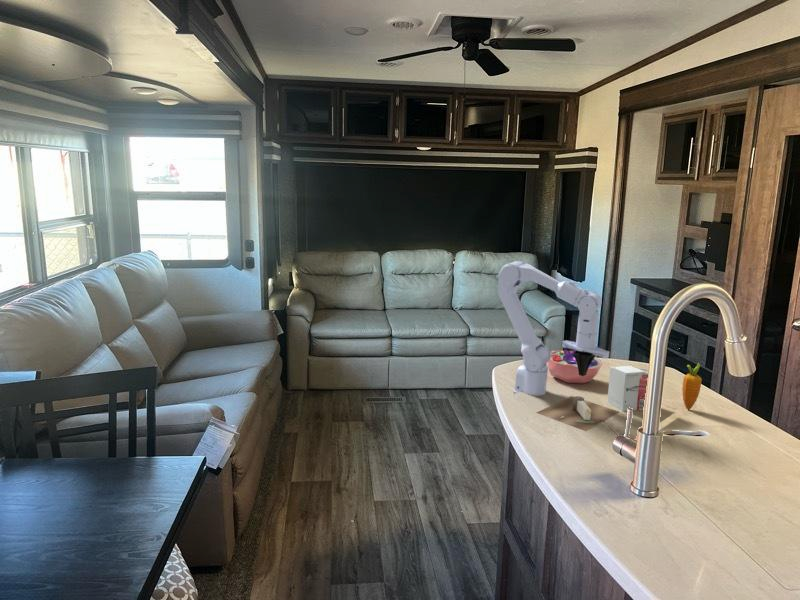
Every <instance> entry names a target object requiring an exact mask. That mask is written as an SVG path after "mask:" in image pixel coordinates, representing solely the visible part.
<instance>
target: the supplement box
mask: <svg viewBox="0 0 800 600" xmlns="http://www.w3.org/2000/svg"><path fill="white" fill-rule="evenodd" d="M640 369H641V368H636V367H634V366H631V365H621V366H610V368H609V380H608V391H607V400H606V402H607V403H608V404H609V405H611V406H612V407H614V408H616V409H618V410H619V411H621V412H628V411H627V408H629V407H630V408H633V410H632V411H638V410H637V400H638V390H639V382H640V378H641V377H642V374H645V371H643V370H640Z"/></svg>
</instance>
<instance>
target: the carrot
mask: <svg viewBox="0 0 800 600" xmlns="http://www.w3.org/2000/svg"><path fill="white" fill-rule="evenodd" d="M700 366H701V364H700V363H697V364H696V366H695V368H692V366H691V365H690V364H687V365H686V367H687V369H688V372H689V373H687V374H686V375H684V376H683V382H682V400H683V403H684V406H685V409H688V411H689V410H691V409H692V408H693V406H694V405H695V403H696V402H697V400H698V398H699V395H700V391H701V387H702V380H703V379H702V377H701V376H699V375H698V374H697V373H698V372H699V370H700V368H701V367H700Z"/></svg>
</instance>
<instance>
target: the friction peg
mask: <svg viewBox="0 0 800 600" xmlns="http://www.w3.org/2000/svg"><path fill="white" fill-rule="evenodd" d="M584 400H585V398H584V397H583V396H579V395H577V396H574V400H573V410H574V411H578V412H579V413H580V415H581V416H582V417H583V418H584V420H590V416H591V409H590V408H589V407H588V406H587V405H586V403H585V402H584Z"/></svg>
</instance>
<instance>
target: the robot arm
mask: <svg viewBox="0 0 800 600" xmlns="http://www.w3.org/2000/svg"><path fill="white" fill-rule="evenodd" d="M497 279H498V289H497V294H498V296H499V299H500V301H501V303H502V305H503V307H504V309H505V312H506V314H507V316H508V318H509V320H510V322H511V324H512V327H513V328H514V331H515V333H516V335H517V338H518V340H519V342H520V344H521V349H520V351H521V354H522V361H523V364H521V365H519V367H517V370H516V373H515V383H514V390H513V393H514V394H517V393H519V392H523V393H524V394H527V395H530V396H535V397H537V396H544V395H546V392H547V381H548V372H549V370H548V365H547V362H548V361H549V360H550V357H551V354H550V352H551V351H550V349H549V348H548V347H547V346H545V344H544V343H543V341H542V339H540V338H539V337H538V336H537V334H536V332H535V331H534V328H533V326H532V323H531V322H530V320H529V317H528V316H527V313H526V312H525V309H524V307H523V304H522V303H521V301H520V298H519V296H518V294H517V291H518V289H519V287H520V284H521V283H523V282H524V283H525V282H533V283H536V284H537V285H541V286H542V287H544V288H546V289H549V290H551V291H552V292H554V293H555V294H556V297H557V298H558V299H561V300H563V301H564V302H566V303H568V304H570V305H572V306H573V307H575V308H578V310H579V313H578V318H577V320H578V321H577V329H576V331H577V332H576V339H575V341H572V340H571V341H570V340H567V339H566V340H563V341H562V344H561V345H562V348H563V349H569V350H570V349H571V350H572V351H574V350H575V353H573V356H574V358H575V360H576V362H577V366H578V371H579V375H581V376H584V375H586V373H587V370H588V368H589V366H590V364H591V362H592V361H593V359H594V358H595V357H596V356H597V357H600V358H602V359H604V360H605V359H609V358H610V351H608V350H605V349H603V348H601V347H598V346H597V345H596V344H597V343H596V342H597V335H598V326H599V316H600V315H599V312H600V311H599V309H600V308H601V307H602V302H603V301H602V297H601V296H600V295H599V294H598V293H597V292H596V291H589V289H587V288H582V287H580V286H578V285H576V284H575V282H574V281H573V280H569V281H568V280H563V281H559V280H557V279H556V278H554V277H552V276H550V275H548V273H545V272H543V271H542V270H540V269H537V268H536V267H534V266H533V265H531V264H529V263H525V262H524V261H522V260H514V261H512V262H510V263H505V264H504V265H502V266H501V268H500V270H499V271H498V274H497Z"/></svg>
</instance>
